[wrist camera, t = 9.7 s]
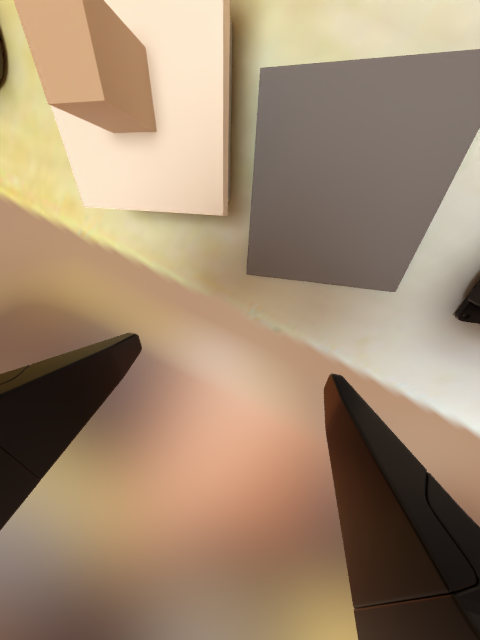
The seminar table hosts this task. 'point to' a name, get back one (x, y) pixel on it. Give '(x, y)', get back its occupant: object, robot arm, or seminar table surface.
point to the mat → (356, 163)
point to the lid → (138, 98)
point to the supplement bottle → (1, 61)
